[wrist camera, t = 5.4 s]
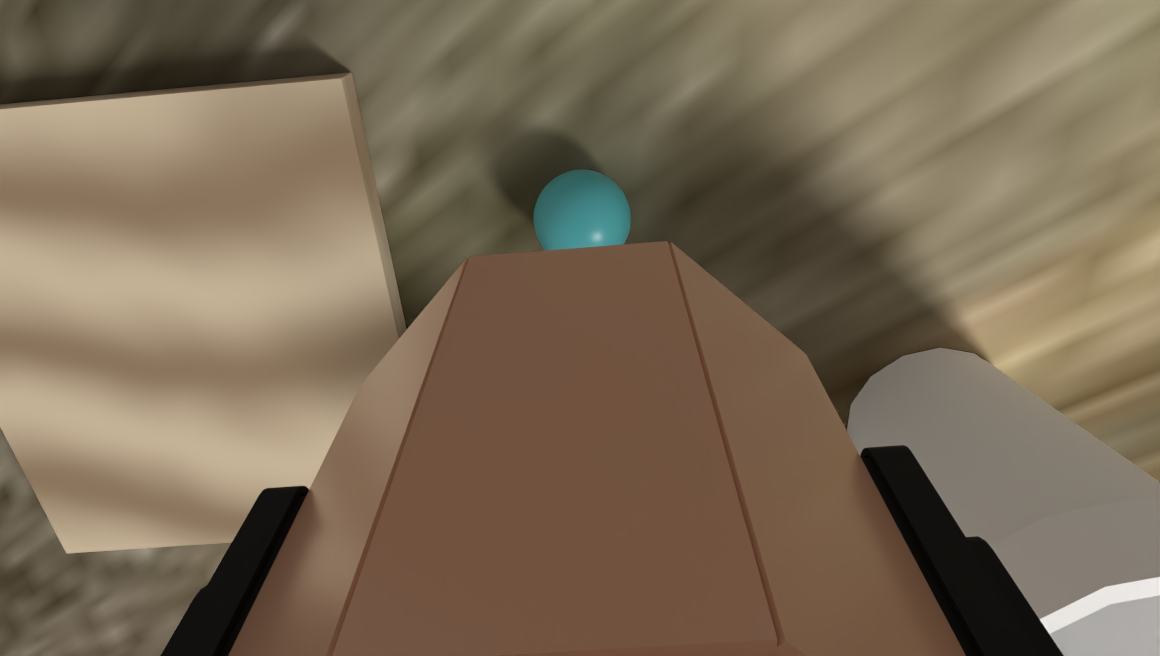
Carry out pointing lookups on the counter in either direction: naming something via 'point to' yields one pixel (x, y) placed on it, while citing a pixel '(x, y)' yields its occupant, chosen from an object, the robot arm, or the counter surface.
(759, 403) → the pink acorn nut
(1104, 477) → the foam cup
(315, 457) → the oak board
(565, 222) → the marble
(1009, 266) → the counter surface
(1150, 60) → the counter surface
